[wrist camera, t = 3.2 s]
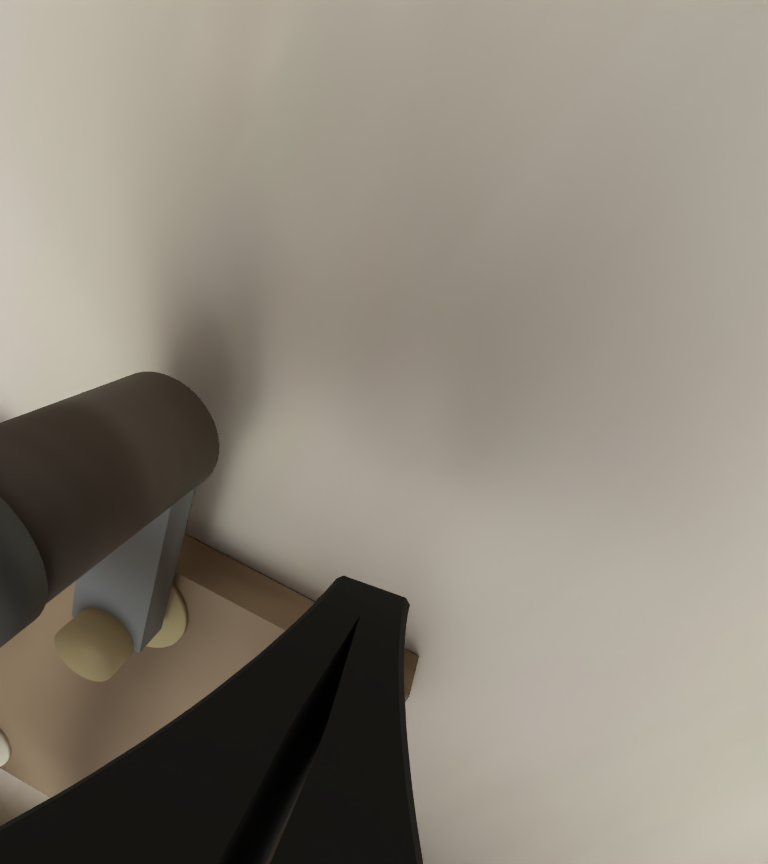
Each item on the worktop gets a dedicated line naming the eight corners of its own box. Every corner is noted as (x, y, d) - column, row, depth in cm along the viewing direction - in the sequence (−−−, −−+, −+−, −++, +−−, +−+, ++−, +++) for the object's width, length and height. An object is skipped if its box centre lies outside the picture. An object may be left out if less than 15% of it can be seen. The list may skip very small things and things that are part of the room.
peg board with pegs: (426, 655, 16) (362, 939, 9) (277, 885, 24) (190, 1118, 18) (-46, 409, 17) (-375, 512, 11) (-33, 705, 25) (-216, 862, 19)
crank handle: (169, 655, 16) (6, 851, 11) (81, 607, 16) (-118, 777, 11) (236, 405, 11) (14, 538, 6) (113, 344, 12) (-189, 429, 7)
